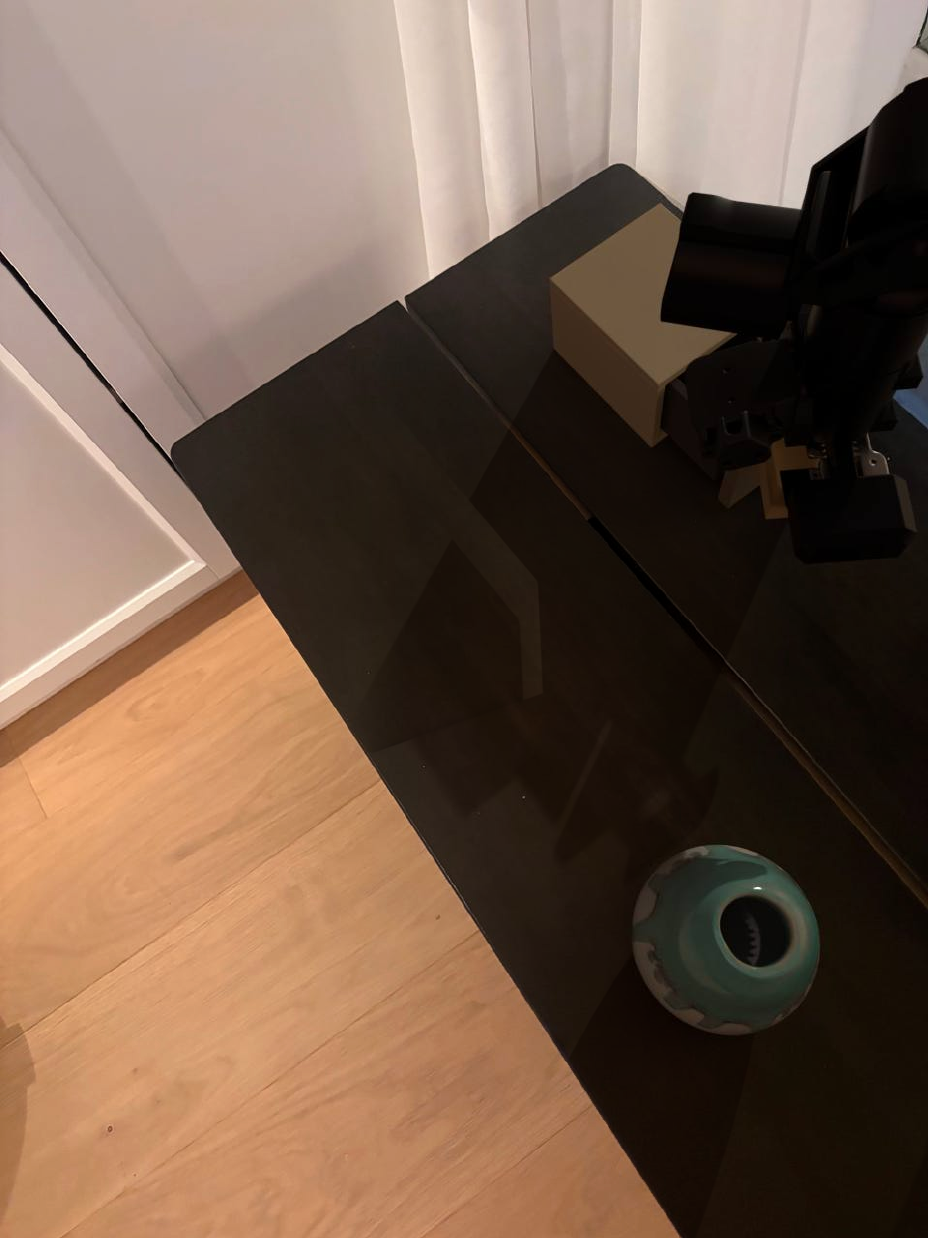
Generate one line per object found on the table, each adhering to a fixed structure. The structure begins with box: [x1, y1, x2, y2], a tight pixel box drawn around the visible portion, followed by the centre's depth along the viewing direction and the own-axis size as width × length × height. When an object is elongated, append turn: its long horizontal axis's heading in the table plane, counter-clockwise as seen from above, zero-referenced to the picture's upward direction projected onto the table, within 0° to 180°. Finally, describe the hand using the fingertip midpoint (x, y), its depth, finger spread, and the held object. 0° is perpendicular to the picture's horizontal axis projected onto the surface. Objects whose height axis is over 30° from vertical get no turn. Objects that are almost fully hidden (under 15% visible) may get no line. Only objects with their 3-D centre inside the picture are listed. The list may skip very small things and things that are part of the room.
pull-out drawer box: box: [660, 334, 858, 509], centre depth 72 cm, size 17×10×7 cm, turn 36°
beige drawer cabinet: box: [548, 202, 737, 448], centre depth 77 cm, size 14×12×9 cm
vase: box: [630, 844, 821, 1036], centre depth 55 cm, size 12×12×18 cm
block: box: [757, 437, 827, 520], centre depth 61 cm, size 4×4×4 cm
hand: (798, 479), depth 62 cm, fingers closed on block, 4 cm apart
